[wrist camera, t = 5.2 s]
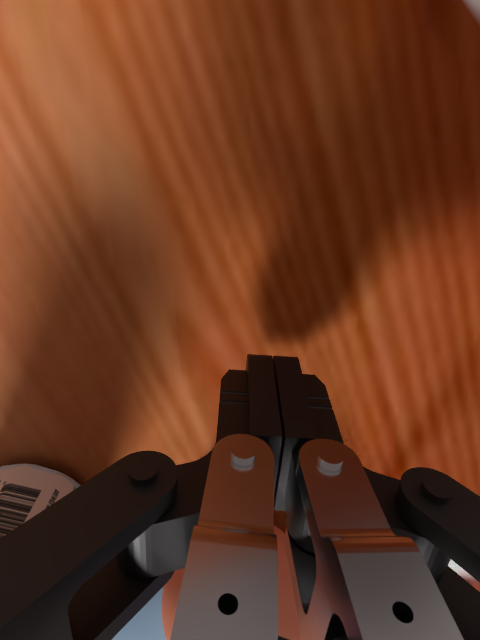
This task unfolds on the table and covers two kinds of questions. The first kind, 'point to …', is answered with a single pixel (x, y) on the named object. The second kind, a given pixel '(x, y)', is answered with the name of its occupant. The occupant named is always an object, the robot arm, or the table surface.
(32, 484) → the beer can
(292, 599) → the ball
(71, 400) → the table surface
